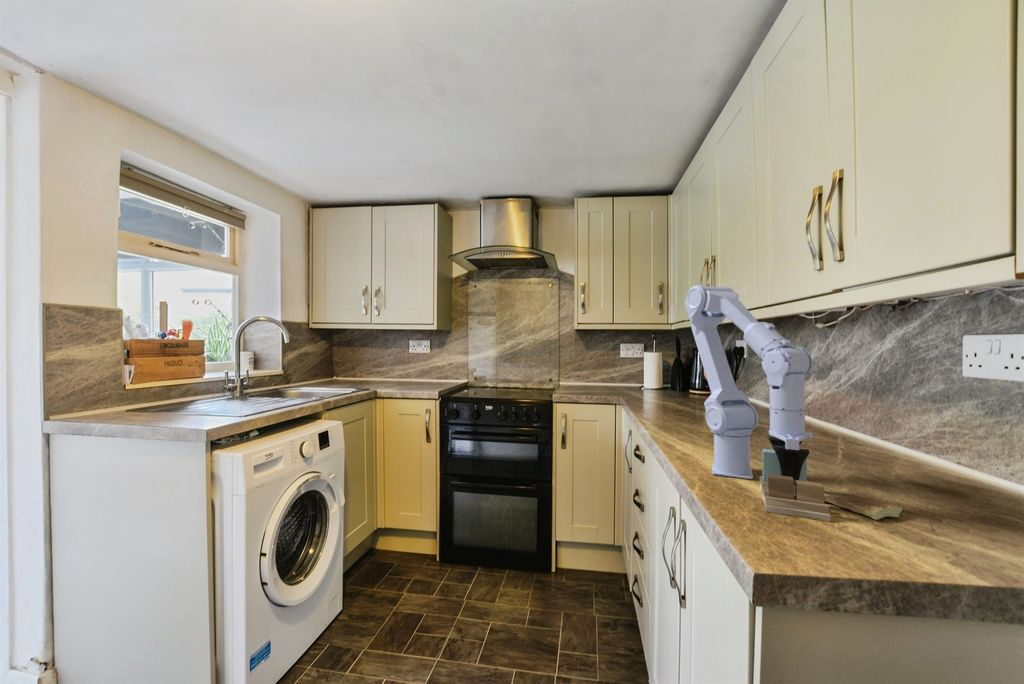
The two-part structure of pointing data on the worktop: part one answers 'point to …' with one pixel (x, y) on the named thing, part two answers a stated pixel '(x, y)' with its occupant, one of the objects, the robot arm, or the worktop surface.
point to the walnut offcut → (780, 486)
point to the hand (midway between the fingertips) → (787, 479)
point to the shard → (863, 505)
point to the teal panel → (777, 465)
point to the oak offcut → (809, 492)
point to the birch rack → (794, 506)
